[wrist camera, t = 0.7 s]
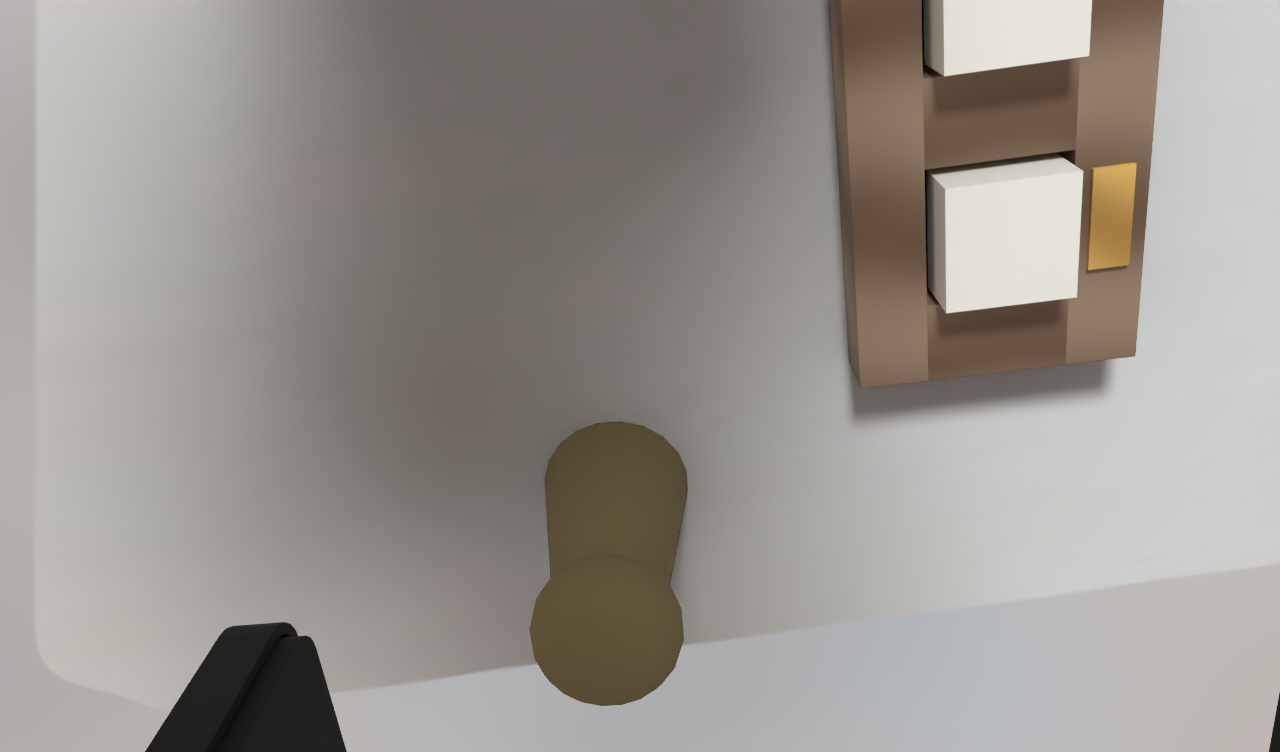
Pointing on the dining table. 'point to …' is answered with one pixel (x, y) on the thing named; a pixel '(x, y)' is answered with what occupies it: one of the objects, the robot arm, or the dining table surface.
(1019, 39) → the middle button
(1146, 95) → the button board
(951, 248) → the outer button
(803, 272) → the dining table surface
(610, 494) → the cork
